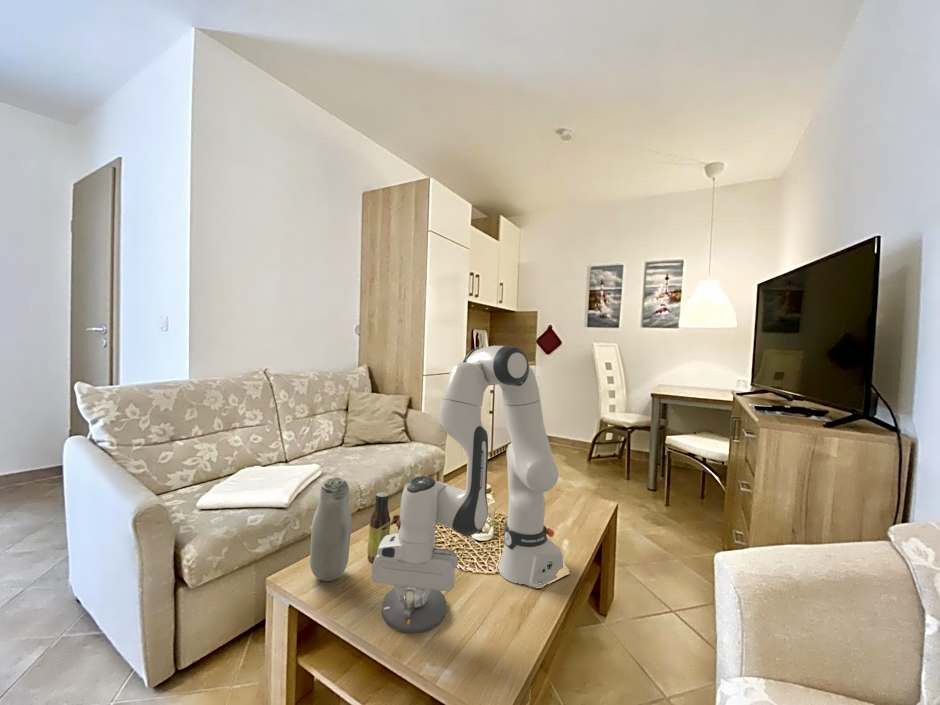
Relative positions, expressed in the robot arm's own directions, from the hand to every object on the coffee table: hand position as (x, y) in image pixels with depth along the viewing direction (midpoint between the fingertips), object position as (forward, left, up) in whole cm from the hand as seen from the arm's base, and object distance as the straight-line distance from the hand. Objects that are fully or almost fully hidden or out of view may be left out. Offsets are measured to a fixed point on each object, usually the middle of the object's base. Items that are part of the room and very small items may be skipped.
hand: (411, 601), depth 97 cm
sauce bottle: (+1, -30, -5) cm, 30 cm away
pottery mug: (-12, -40, -6) cm, 42 cm away
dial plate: (-2, -4, -5) cm, 7 cm away
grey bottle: (+16, -25, -5) cm, 30 cm away
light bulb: (-1, -2, -3) cm, 4 cm away
